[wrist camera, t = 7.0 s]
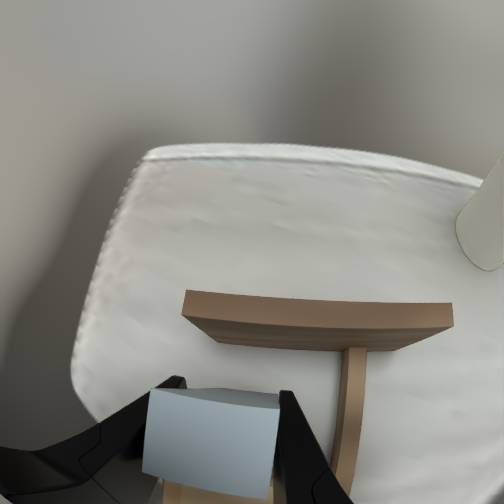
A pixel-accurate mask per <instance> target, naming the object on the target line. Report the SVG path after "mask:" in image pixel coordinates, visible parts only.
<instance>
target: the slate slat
mask: <svg viewBox="0 0 504 504" xmlns="http://www.w3.org/2000/svg"><path fill="white" fill-rule="evenodd" d="M278 400H279V397H278V394H270V393H259V392H249V391H241V390H233V389H226V388H207V389H165V388H151V391H150V398H149V405H148V413H147V422H146V431H145V441H144V452H143V465H142V472H144V473H147V474H149V475H152V476H155V477H159V478H162V479H165V480H168V481H172V482H175V483H179V484H183V485H186V486H190V487H195V488H199V489H203V490H208V491H213V492H218V493H224V494H230V495H236V496H244V497H252V498H261V499H267V497H268V491H269V485H270V479H271V473H272V466H273V459H274V452H275V445H276V437H277V430H278V422H279V414H280V405H279V404H278Z"/></svg>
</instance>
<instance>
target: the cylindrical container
mask: <svg viewBox="0 0 504 504" xmlns="http://www.w3.org/2000/svg"><path fill="white" fill-rule="evenodd" d="M456 234H457V238H458V241H459V244H460V246H461V248H462V250H463V251H464V253H465V255H466V256H467V257H468V258H469V260H470V261H471V262H472V263H473V264H474V265H476V266H477V267H479V268H480V269H483V270H486V271H493V270H495V269H497V268H498V267H499V266H501V265H502V264H503V263H504V151H503V152H502V154H501V156H500V157H499V159H498V160H497V162H496V163H495V165H494V167H493V168H492V170H491V171H490V173H489V174H488V176H487V177H486V179H485V180H484V181H483V183H482V184H481V186H480V187H479V188H478V190H477V191H476V193H475V194H474V195H473V197H472V198H471V199H470V201H469V202H468V203H467V205H466V206H465V207H464V209H463V210H462V211H461V212H460V214H459V215H458V217H457V219H456Z"/></svg>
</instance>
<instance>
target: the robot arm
mask: <svg viewBox="0 0 504 504" xmlns="http://www.w3.org/2000/svg"><path fill="white" fill-rule="evenodd" d="M155 388H165V389H187V385H186V380H185V378H184V377H180V376H175V375H174V376H171V377H170V378H168V379H167V380H165V381H164V382H163V383H161V384H160V385H158V386H157V387H155ZM150 391H151V390H150ZM150 391H149V392H147V393H146V394H144V395H143V396H141V397H140V398H138V399H137V400H135V401H134V402H132V403H130V404H129V405H127V406H126V407H124V408H122V409H121V410H119V411H118V412H116V413H114V414H113V415H111V416H110V417H108V418H106V419H105V420H103V421H101V423H98V424H96V425H95V426H93V427H91V428H90V429H87V430H86V431H84V432H82V433H80V434H78V435H76V436H73V437H71V438H69V439H67V440H64V441H62V442H59V443H57V444H54V445H52V446H49V447H47V448H44V449H41V450H35V451H25V450H19V449H13V448H7V447H2V446H0V504H147V503H148V500H149V498H150V496H151V494H152V491H153V489H154V487H155V484H156V482H157V480H158V478H159V477H155V476H152V475H149V474H147V473H144V472H142V465H143V452H144V441H145V431H146V422H147V413H148V405H149V398H150ZM278 404H279V405H280V414H279V422H278V430H277V437H276V445H275V452H274V459H273V504H354V503H353V502H352V500H351V499H350V498H349V496H348V495H347V494H346V492H345V491H344V489H343V488H342V486H341V485H340V483H339V481H338V480H337V478H336V476H335V474H334V472H333V470H332V469H331V467H329V463H328V461H327V459H326V457H325V455H324V453H323V451H322V449H321V447H320V445H319V444H318V442H317V440H316V438H315V436H314V434H313V432H312V430H311V428H310V426H309V424H308V422H307V420H306V418H305V416H304V414H303V412H302V410H301V408H300V406H299V404H298V402H297V400H296V397H295V395H294V393H293V392H292V391H287V390H281V391H280V392H279V400H278Z"/></svg>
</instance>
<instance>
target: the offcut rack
mask: <svg viewBox="0 0 504 504" xmlns="http://www.w3.org/2000/svg"><path fill="white" fill-rule="evenodd" d="M181 315H182V316H184V317H185V318H186V319H187V320H189V321H190V322H191V323H193V324H194V325H195V326H197V327H198V328H199V329H201V330H202V331H203V332H205V333H206V334H207V335H209V336H210V337H211V338H213V339H214V340H215V341H217V342H220V343H228V344H236V345H246V346H256V347H267V348H280V349H295V350H316V351H343V352H342V370H341V384H340V396H339V406H338V416H337V425H336V433H335V440H334V447H333V454H332V460H331V466H330V467H331V469H332V470H333V472H334V474H335V476H336V478H337V480H338V481H339V483H340V485H341V486H342V488H343V489H344V491H345V492H346V494H347V495H348V496H349V495H350V490H351V486H352V481H353V476H354V470H355V465H356V459H357V453H358V447H359V440H360V432H361V424H362V415H363V405H364V394H365V380H366V359H367V351H395V350H397V349H400V348H403V347H405V346H408V345H411V344H413V343H416V342H418V341H421V340H423V339H426V338H428V337H431V336H433V335H435V334H438V333H440V332H442V331H444V330H447V329H449V328H451V327H453V326H454V321H453V309H452V303H380V302H347V301H324V300H305V299H288V298H273V297H260V296H247V295H235V294H224V293H213V292H203V291H193V290H186V294H185V299H184V304H183V309H182V314H181ZM162 504H273V467H272V473H271V479H270V485H269V491H268V497H267V499H261V498H252V497H244V496H236V495H230V494H224V493H218V492H213V491H208V490H203V489H199V488H195V487H190V486H186V485H183V484H179V483H175V482H172V481H168V480H165V479H163V493H162Z"/></svg>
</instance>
